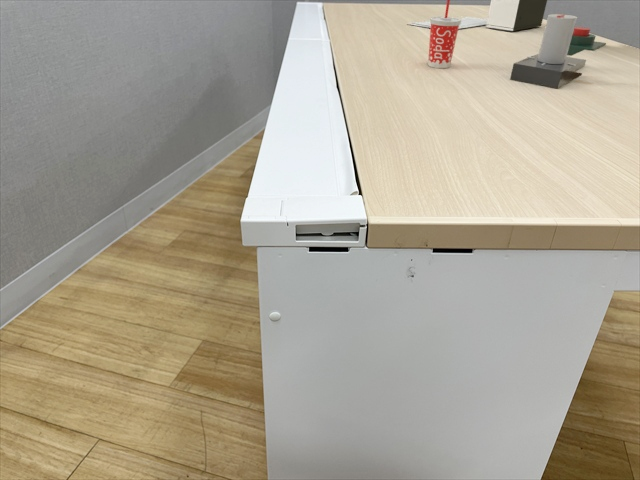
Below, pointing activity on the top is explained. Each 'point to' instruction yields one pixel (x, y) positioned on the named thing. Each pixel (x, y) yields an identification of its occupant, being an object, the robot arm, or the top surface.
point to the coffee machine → (506, 15)
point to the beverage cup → (442, 40)
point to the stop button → (581, 31)
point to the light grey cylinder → (556, 38)
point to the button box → (583, 44)
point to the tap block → (546, 71)
